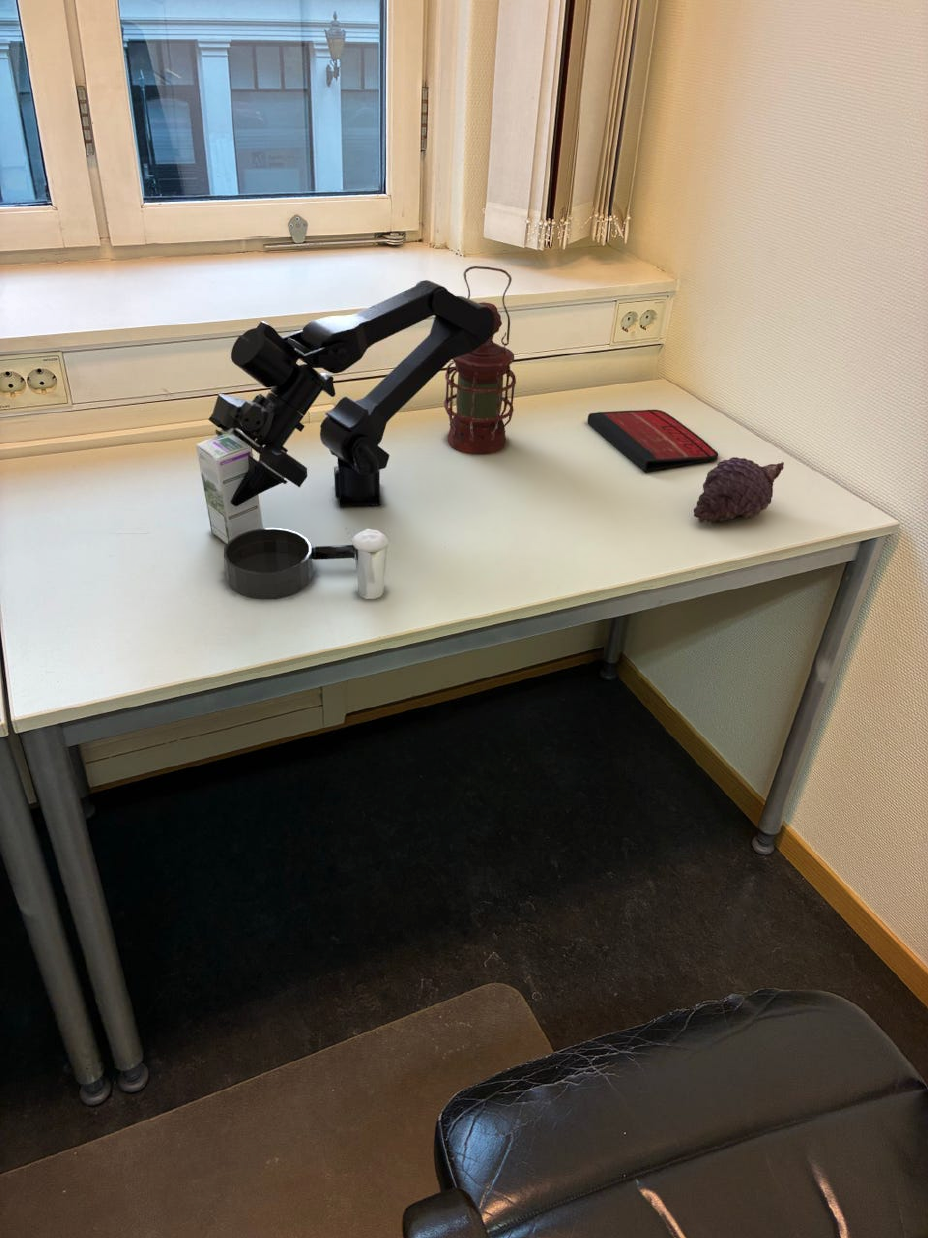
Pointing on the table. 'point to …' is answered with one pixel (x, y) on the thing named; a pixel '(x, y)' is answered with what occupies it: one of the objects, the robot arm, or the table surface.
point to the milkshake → (370, 562)
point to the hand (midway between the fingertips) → (222, 495)
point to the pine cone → (736, 490)
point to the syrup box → (227, 486)
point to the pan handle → (332, 552)
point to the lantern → (481, 391)
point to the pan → (268, 563)
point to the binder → (652, 438)
